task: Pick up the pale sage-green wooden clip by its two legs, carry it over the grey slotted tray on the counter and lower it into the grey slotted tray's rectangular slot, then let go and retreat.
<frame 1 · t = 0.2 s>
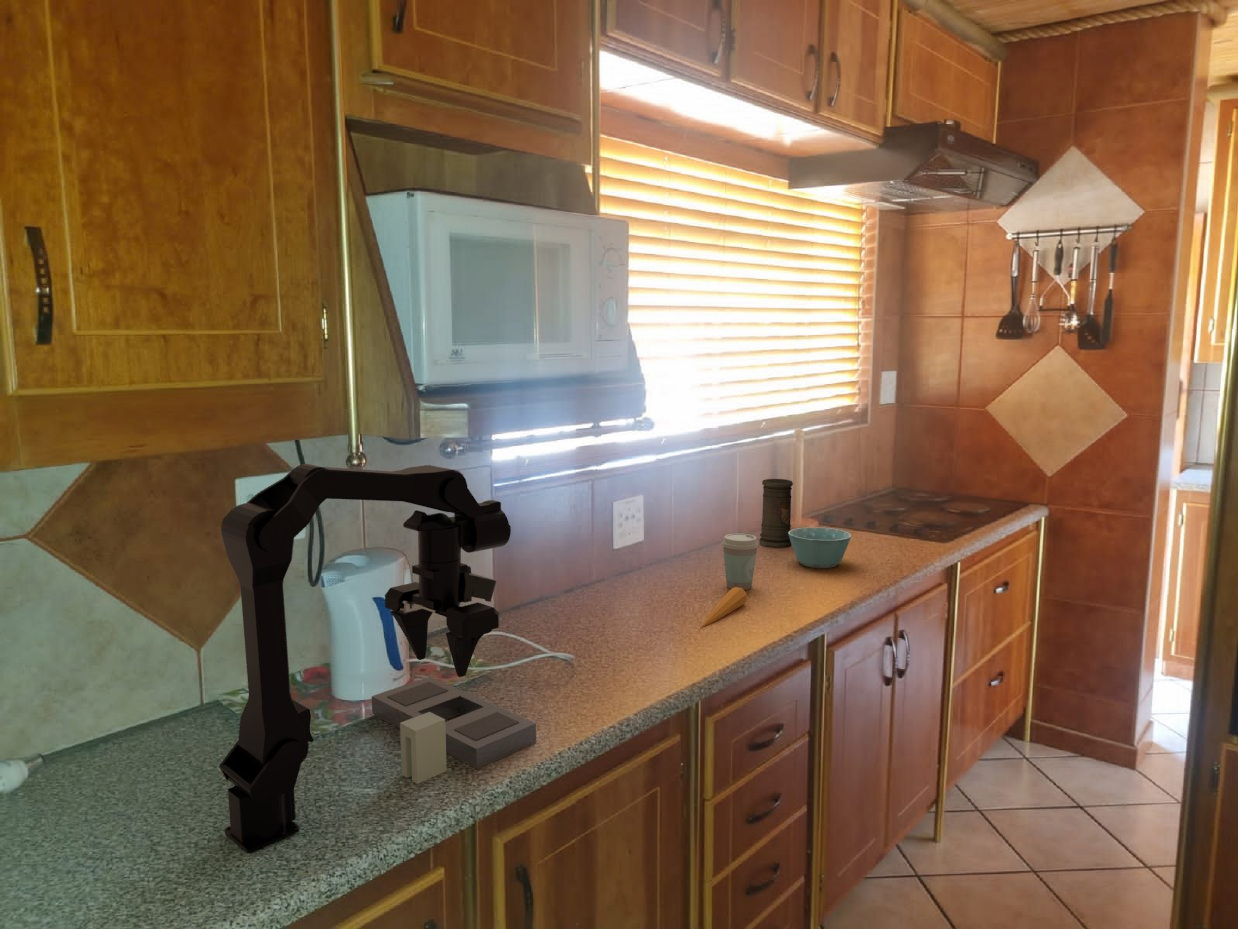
hand: (441, 667, 125), 13 cm above the worktop, fingers open, 9 cm apart
coffee cup: (739, 587, 212), on the worktop
carrot: (719, 616, 191), on the worktop
clip: (424, 773, 123), on the worktop
bowl: (818, 565, 232), on the worktop
container: (775, 544, 254), on the worktop
grey slotted tray: (451, 728, 137), on the worktop
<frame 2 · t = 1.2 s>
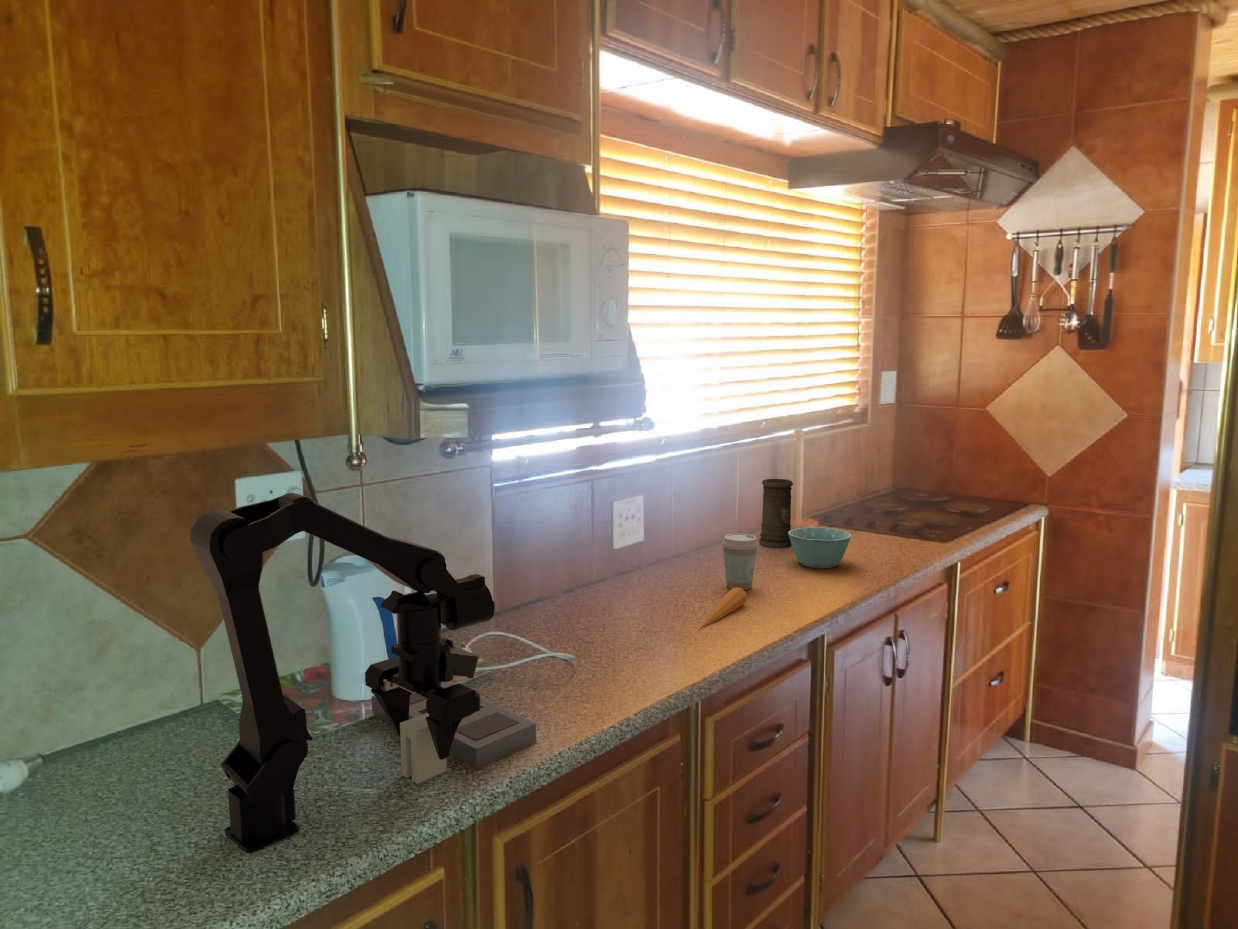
hand: (422, 747, 123), 4 cm above the worktop, fingers open, 9 cm apart
nothing on the worktop moved.
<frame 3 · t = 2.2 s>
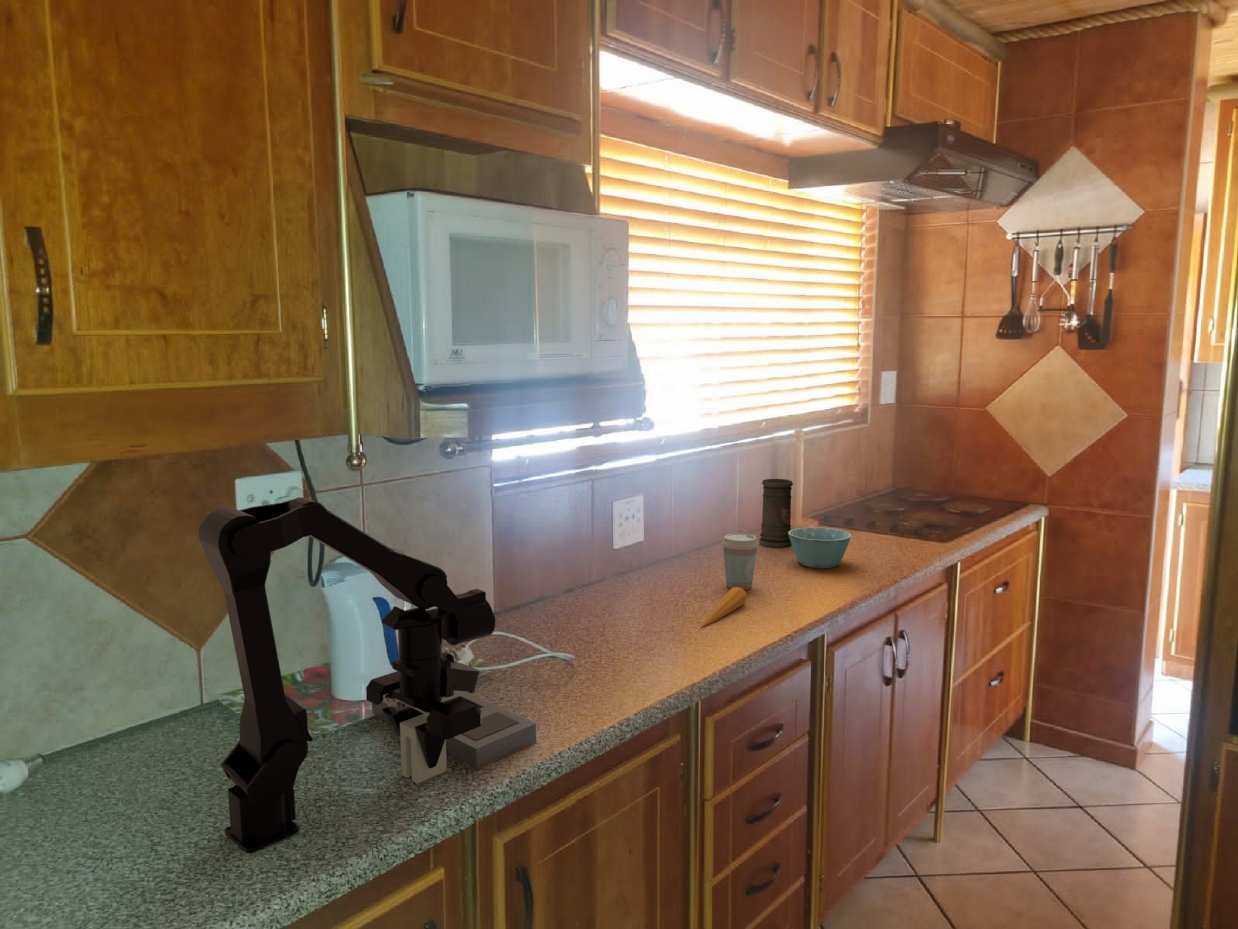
hand: (423, 762, 123), 2 cm above the worktop, fingers closed on clip, 4 cm apart
clip: (424, 773, 123), on the worktop, touching gripper
everything else where it was.
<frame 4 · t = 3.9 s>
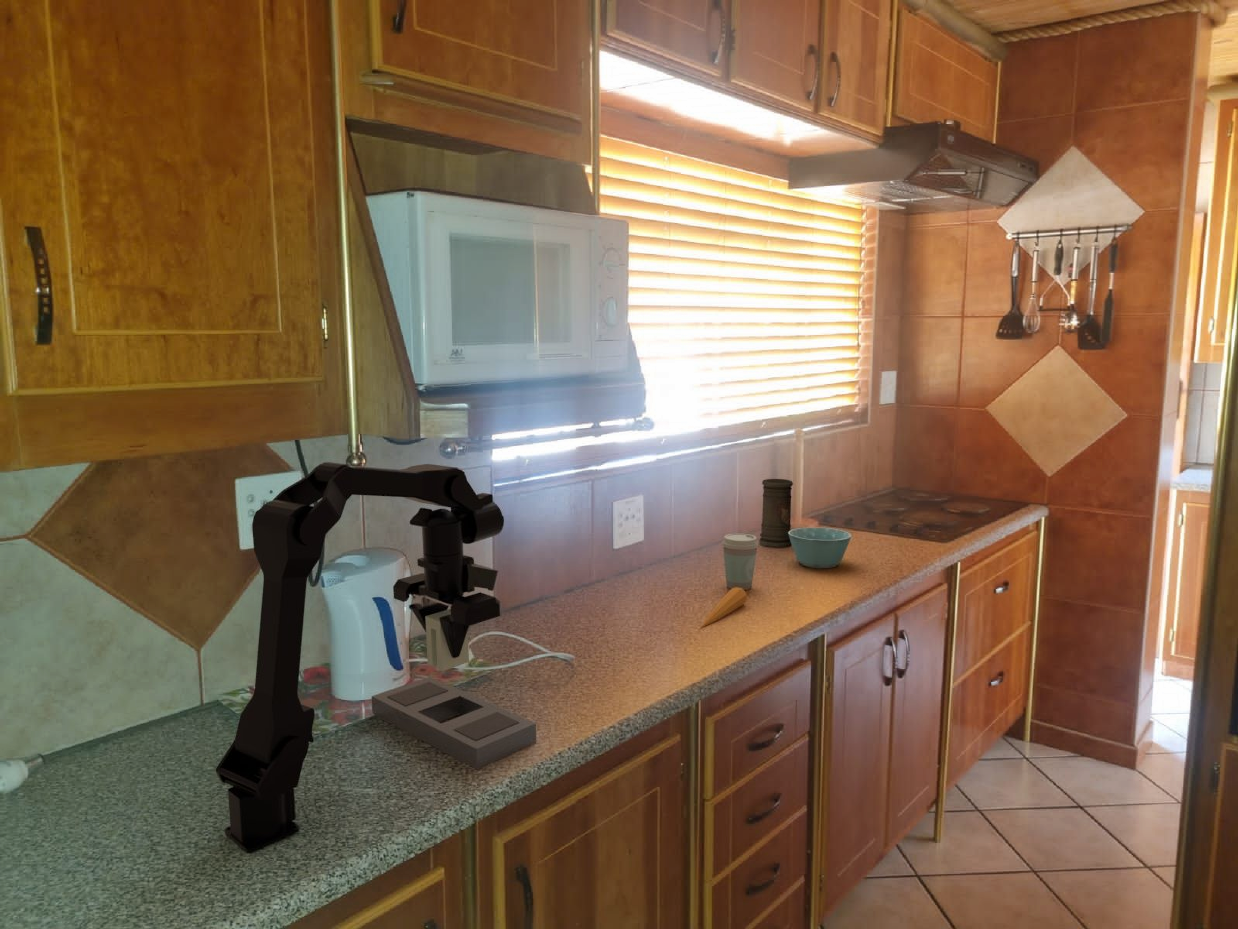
hand: (447, 653, 133), 13 cm above the worktop, fingers closed on clip, 4 cm apart
clip: (448, 663, 133), point 11 cm above the worktop, touching gripper
everything else where it was.
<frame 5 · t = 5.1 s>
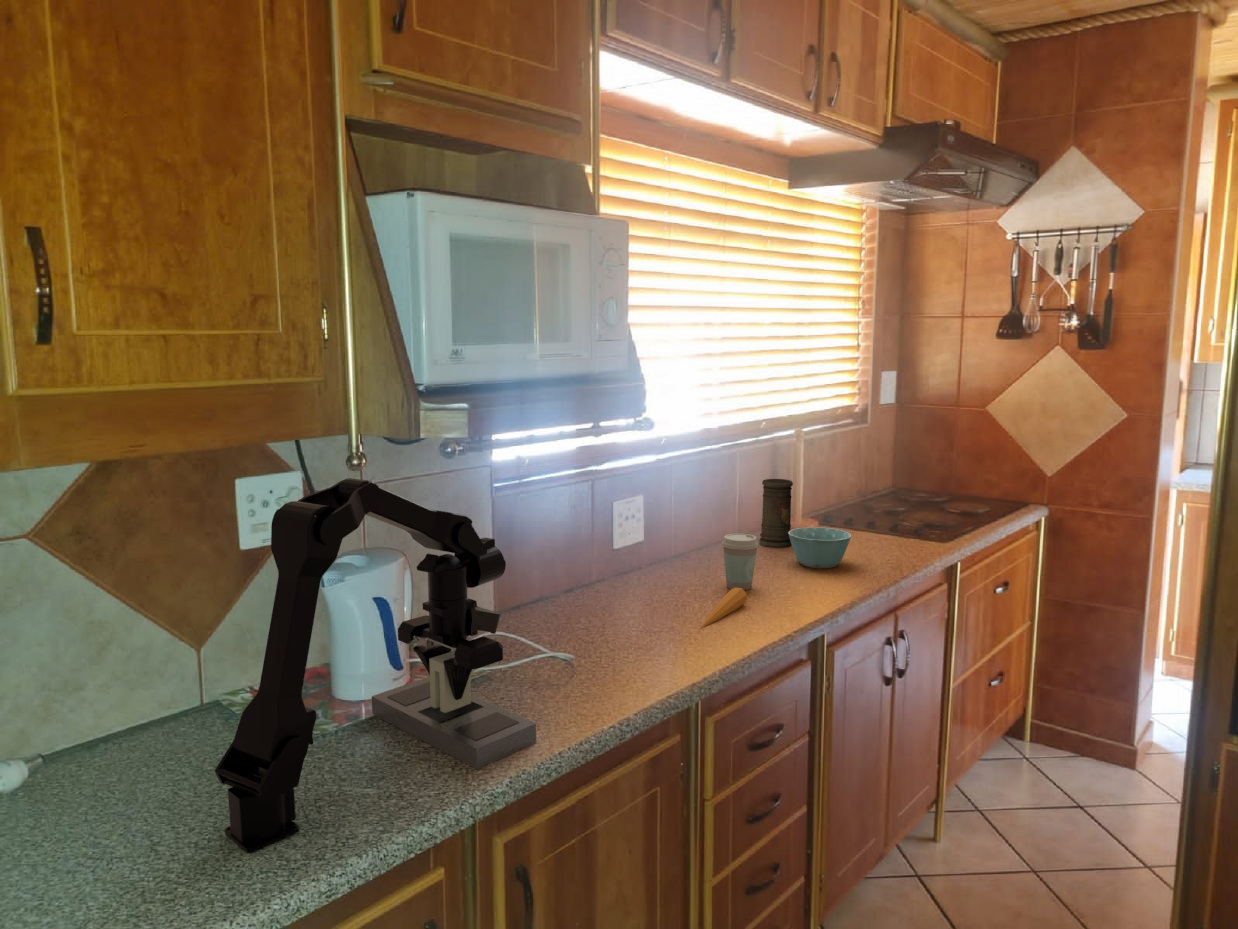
hand: (450, 695, 136), 5 cm above the worktop, fingers closed on clip, 4 cm apart
clip: (450, 704, 136), point 4 cm above the worktop, touching gripper
everything else where it was.
when the fingers open (3 cm above the worktop, at t = 5.7 s): clip drops 2 cm, resting in grey slotted tray.
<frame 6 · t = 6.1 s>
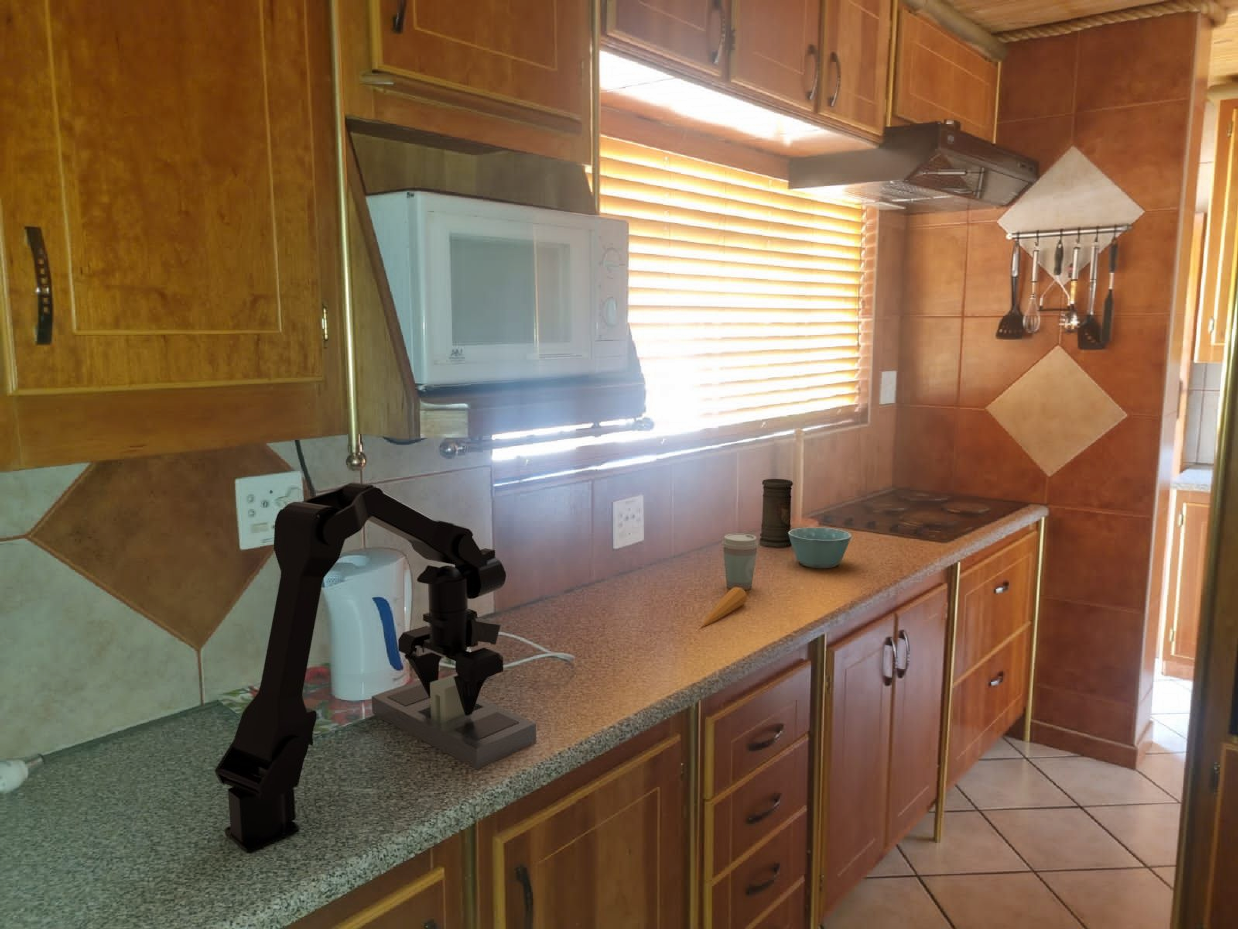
hand: (450, 706, 136), 3 cm above the worktop, fingers open, 8 cm apart
clip: (451, 728, 137), resting in grey slotted tray
everything else where it was.
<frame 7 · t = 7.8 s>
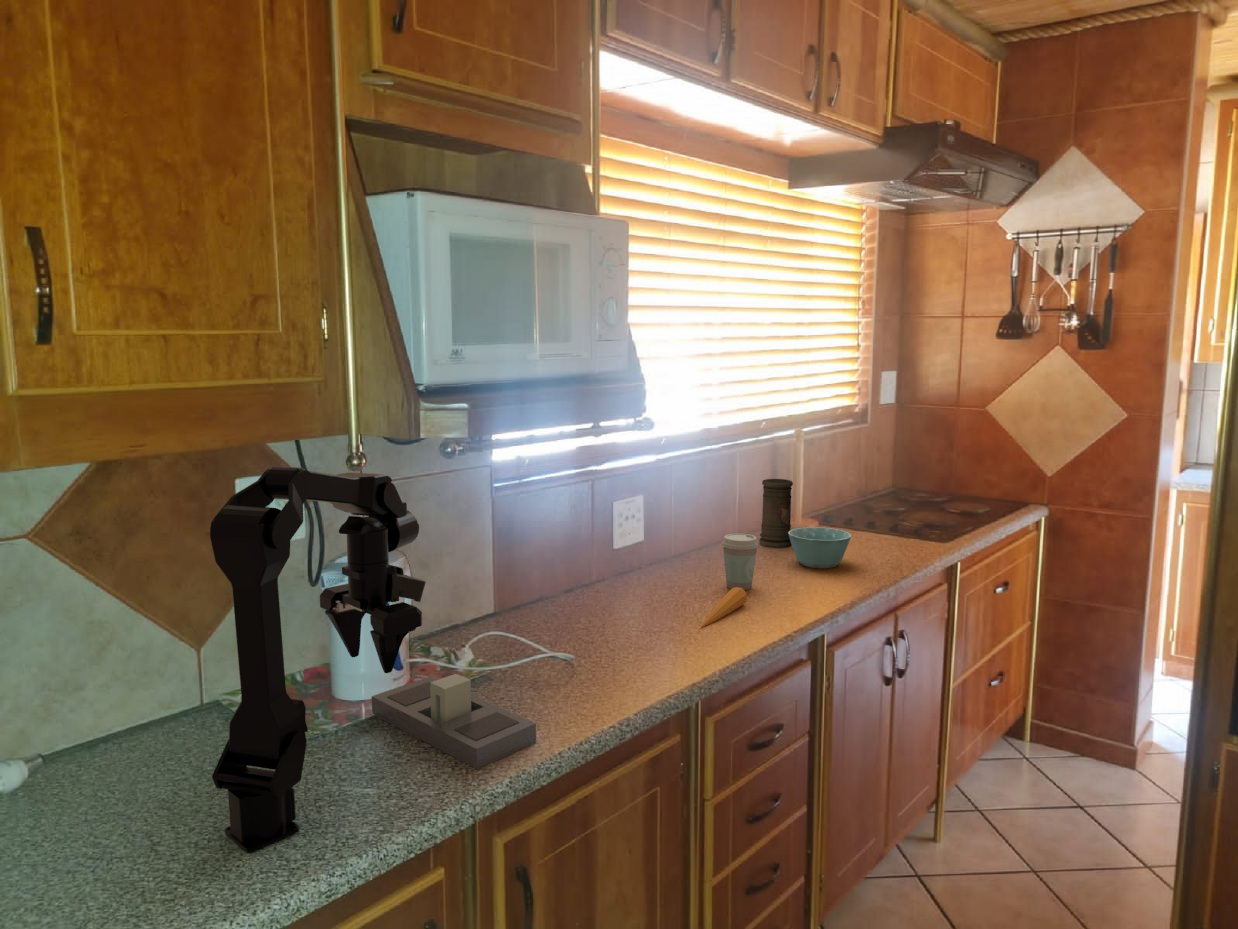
hand: (371, 664, 131), 12 cm above the worktop, fingers open, 9 cm apart
nothing on the worktop moved.
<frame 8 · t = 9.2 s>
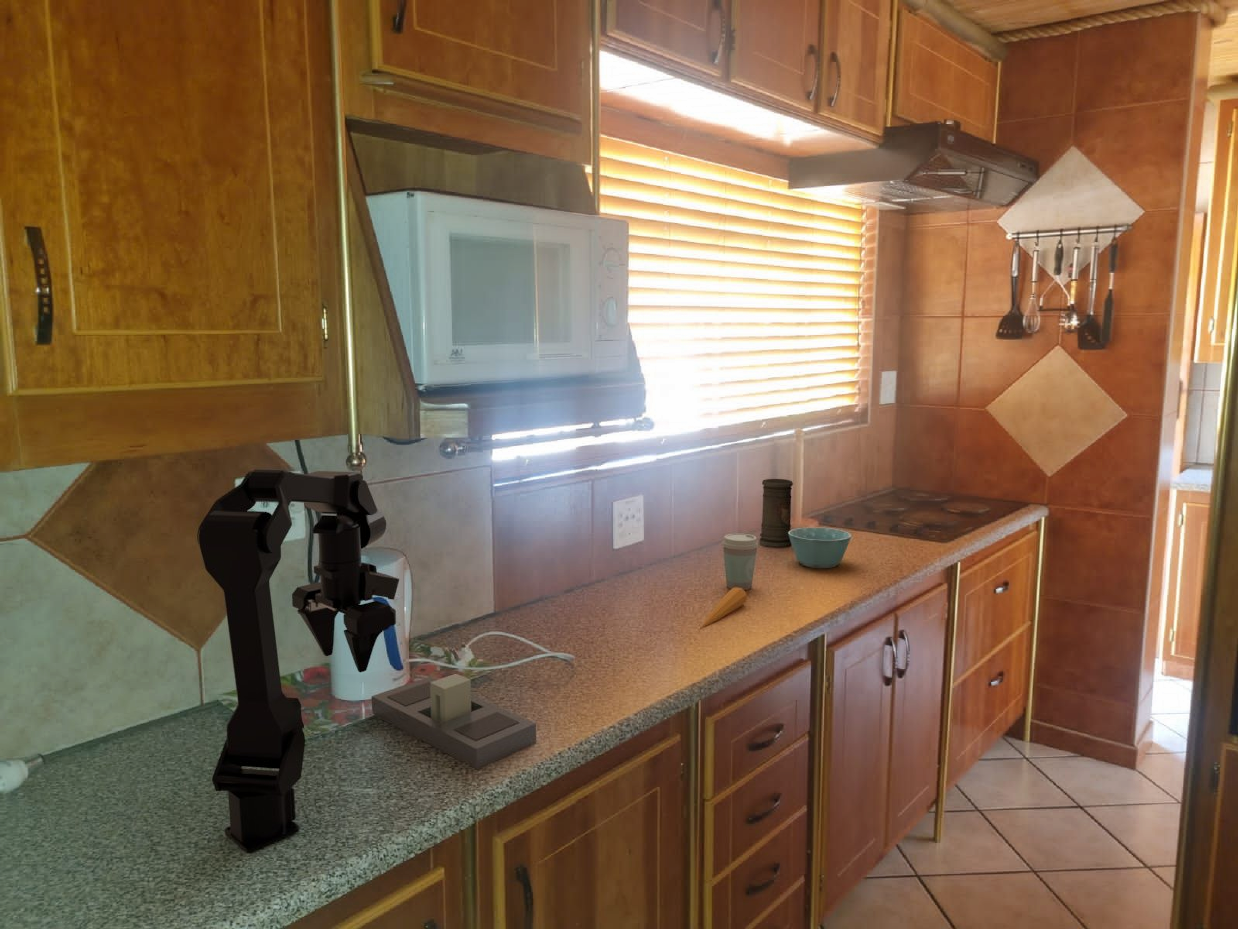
hand: (345, 663, 131), 12 cm above the worktop, fingers open, 9 cm apart
nothing on the worktop moved.
at the end: clip 0.0 cm off-centre on the grey slotted tray, point 0.0 cm above the grey slotted tray's base; the gripper is holding nothing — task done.
